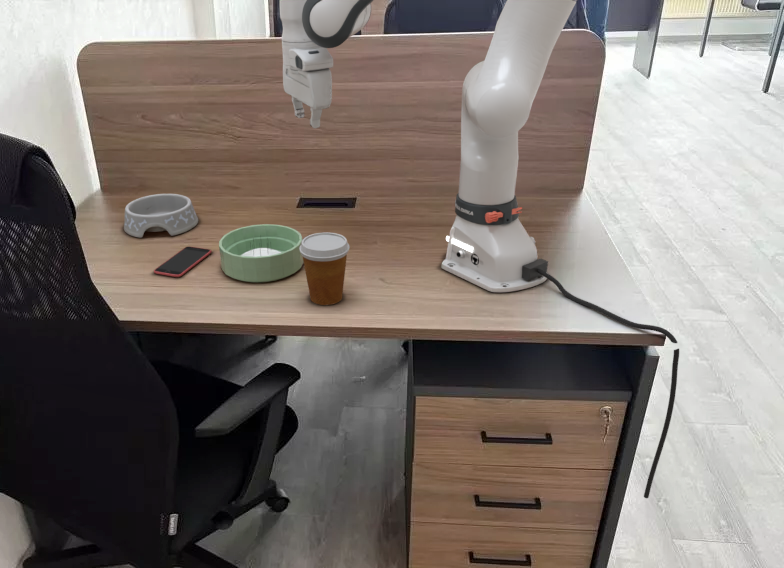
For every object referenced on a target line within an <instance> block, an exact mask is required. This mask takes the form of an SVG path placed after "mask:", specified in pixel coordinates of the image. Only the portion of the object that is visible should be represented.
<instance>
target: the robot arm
mask: <svg viewBox="0 0 784 568" xmlns="http://www.w3.org/2000/svg"><path fill="white" fill-rule="evenodd" d="M374 1H375V0H279V18H280V21H281V25H282V34H281V48H282V49H281V50H282V51H281V52H282V86H283V87H282V88H283V91H284V93H285V94H287V95H289V96H291V102H292V105H293V109H294V117H295V118H297V119H303V118H305V108H304V105H306V106H307V107H309V108H310V109H309V110H310V112H311V113H310V118H309V126H310V127H311V128H312V129H318V128H320V127H321V118H322V114H323V110H326V109H329V108H330V107H331V105H332V100H333V76H332V75H333V74H332V71H331V69H333V68H334V57H333V56H332V54H331V53H330V51H329V49H333V48H334V49H335V48H337V47H339V46H341V45H342V44H343V43H345V42H346V41H347V40H348V39H349V38H351V37H352V36H354V35H356V34H357V33H359V32H360V31H361V30H362V29H364V27H366V25H367V24H368V22H369V20H370V18H371V14H372V3H373V2H374ZM576 3H577V0H506V2H505V4H504V6H503V8H502V10H501V12H500V15H499V17H498V19H497V21H496V25H495V29H494V31H493V35H492V38H491V41H490V44H489V47H488V50H487V52H486V55H485V58H484V60H482V61H480V62H478V63H476V64H475V65H473V66H472V67H471V68H470V69H469V71H468V72H467V73H466V75H465V78H464V80H463V82H462V83H463V84H462V89H461V113H460V115H461V117H460V119H461V120H460V162H459V163H460V165H459V181H458V192H457V193H456V197H455V200H454V202H455V203H454V207H455V208H454V213H455V214H456V215H455V219H454V221H453V224H452V225H451V228H450V230H449V235H446V237H445V240H446V242H447V249H446V255H445V259H443V261H442V262H441V265H440V267H441V268H440V269H442V270H444V271H446V272H448V273H450V274H452V275H455V276H457V277H459V278H461V279H463V280H465V281H467V282H469V283H471V284H473V285H476V286H478V287H480V288H482V289H484V290H486V291H488V292H490V293H510V292H517V291H521V290H526V289H530V288H532V287H533V288H534V287H536V286H539V285H541V284H543V283H544V282H545V281H547V280H549V281H550V282H552V284H554V285H555V286H556V287H557V289H558V290H559V292H560V293H562V294H563V296H565V297H566V298H568V299H570V300H571V301H573V302H575V303H577V304H579V305H582V306H584V307H588V308H590V309H593V310H594V311H597V312H599V313H601V314H602V315H604V316H607V317H608V318H610V319H612V320H615V321H617V322H619V323H621V324H624V325H626V326H629V327H631V328H634V329H639V330H645V331H653V332H658V333H660V334H662V335H663V336H666V338H668V339H669V341H670V342H671V343H673V344H678V341H677V339H676V337H675V336H674V335H673V333H671V331H668V330H667V329H665V328H664V327H661V326H657V325H652V324H643V323H637V322H634V321H631V320H628V319H626V318H624V317H622V316H619V315H617V314H615V313H613V312H610V310H609V311H608V310H607V309H606V308H602V307H600V306H599V305H597V304H594V303H592V302H590V301H587V300H584V299H581V298H579V297H577V296H575V295H573V294H571V292H569V291H567V290H566V289H565V287H564V286H563V285H562V284H561V282H560V281H559V280H558V279H556V278H555V277H554V276H552V275H551V274H549V273H548V268H549V267H548V266H549V261H548V260H545V259H543V258H541V257H540V258H538V248H537V246H536V239H535V238H534V236H530V235H529V233H528V232H527V230H526V228H525V227H524V226H523V224H522V222H521V220H520V219H519V216H520V214H522V213H523V211H522V209H523V207H522V206H520V207H519V206H518V200H517V199H518V198H517V195H516V188H517V187H516V185H517V176H518V169H519V167H518V166H519V158H520V157H519V131H520V130H521V129H522V128H523V127H524V126H525V124H526V123H527V121H528V119H529V117H530V114H531V109H532V106H533V103H534V100H535V98H536V95H537V93H538V90H539V88H540V85H541V83H542V80H543V77H544V75H545V72H546V69H547V66H548V63H549V60H550V58H551V55H552V52H553V50H554V48H555V45H556V44H557V41H558V39H559V37H560V35H561V33H562V31H563V30H564V27H565V25H566V23H567V21H568V19H569V18H570V16H571V13H572V11H573V9H574V7H575V5H576ZM679 360H680V348H675V349H673V355H672V365H671V380H670V382H671V384H670V389H669V391H670V392H669V399H668V405H667V411H666V415H665V418H664V424H663V427H662V430H661V431H662V432H661V434H660V437H659V441H658V443H657V444H658V445H657V448H656V450H655V451H656V452H655V453H654V458H653V460H652V464H651V467H650V471H649V474H648V477H647V482H646V485H645V490H644V494H643V498H644V499H649V497H650V492H651V490H652V489H651V488H652V485H653V482H654V477H655V474H656V470H657V467H658V465H659V461H660V458H661V455H662V451H663V449H664V445H665V442H666V439H667V435H668V432H669V428H670V425H671V420H672V415H673V410H674V406H675V401H676V400H675V399H676V393H677V384H678V370H679Z"/></svg>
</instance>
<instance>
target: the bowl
mask: <svg viewBox="0 0 784 568" xmlns="http://www.w3.org/2000/svg"><path fill="white" fill-rule="evenodd" d="M260 235H261V236H260ZM253 238H254V240H253ZM302 240H303V236H302V234H301V232H300V231H298V230H297V229H295V228H293V227H290V226H286V225H281V224H270V223H264V224H262V223H261V224H252V225H247V226H242V227H238V228H236V229H233V230H231V231H229V232H227V233H225V234H224V235H222V237H221V238H220V239H219V241H218V249H219V250H218V251H219V258H220V267H221V270H222V272H223V273H224V274H225V275H226V276H228V277H229V278H232V279H234V280H238V281H242V282H247V283H268V282H274V281H279V280H282V279H285V278H288V277H290V276H291V275H293V274H295V273H296V272H298V271H300V269H301V268H302V266H304V261H303V256H302V255H301V252H300V249H299V248H300V246H301V243H302ZM270 242H271V243H270ZM250 244H251V247H250ZM261 244H262V248H267V244H268V245H269V248H270V249H274V250H277V251H279V252H281V253H279V254H274V255H269V256H259V257H251V256H241V255H242V254H244V253H246V252H248V251H250V250H253V249H254V248H255V249H257V248H261Z"/></svg>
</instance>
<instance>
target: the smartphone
mask: <svg viewBox="0 0 784 568" xmlns="http://www.w3.org/2000/svg"><path fill="white" fill-rule="evenodd" d="M210 254H212V250H211V249H209V248H204V247H197V246H190V245H189V246H185V247H183V248H182V249H181V250H180V251H178V252H176V253H175V254H174V255H173V256H171V257H170V258H168V259H167V260H165V262H163V263H161V264H160V265H159V266H158V267H156V268H155V269H154V270H153V273H154V274H157V275H163V276H168V277H172V278H173V277H175V278H179V277H182V276H184V275H185V274H186V273H187V272H189V271H190V270H191V269H192V268H194V267H195V266H196V265H197V264H199V263H200V262H201V261H203V260H204V259H205V258H207V256H209V255H210Z"/></svg>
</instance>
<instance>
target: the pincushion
mask: <svg viewBox="0 0 784 568" xmlns="http://www.w3.org/2000/svg"><path fill="white" fill-rule="evenodd" d="M260 236H261V235H260ZM253 240H254V238H253ZM270 243H271V242H270ZM250 247H251V244H250ZM279 253H281V252H279V251H277V250H274V249H270V248H269V245H268V244H267V248H262V244H261V248H257V249H255V248H254V249H253V250H250V251H248V252H246V253H244V254H242V255H241V256H251V257H259V256H269V255H274V254H279Z"/></svg>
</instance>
